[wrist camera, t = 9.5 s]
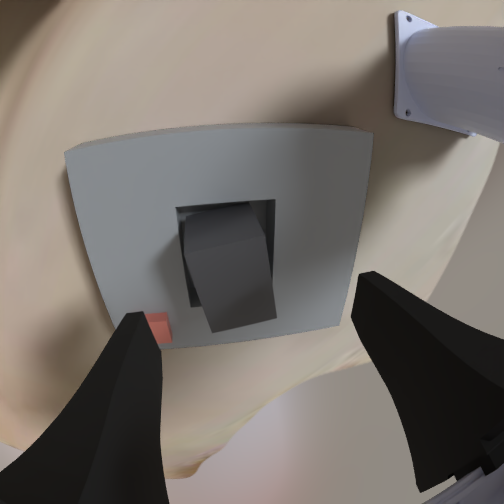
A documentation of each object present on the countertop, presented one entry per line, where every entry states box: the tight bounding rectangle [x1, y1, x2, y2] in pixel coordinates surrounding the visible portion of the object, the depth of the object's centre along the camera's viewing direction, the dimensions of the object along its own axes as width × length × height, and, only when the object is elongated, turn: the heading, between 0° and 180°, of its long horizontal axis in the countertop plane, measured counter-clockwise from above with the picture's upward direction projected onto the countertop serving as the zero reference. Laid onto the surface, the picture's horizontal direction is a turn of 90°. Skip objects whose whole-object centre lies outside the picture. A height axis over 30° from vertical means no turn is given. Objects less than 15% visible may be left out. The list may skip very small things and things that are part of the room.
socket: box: [64, 123, 374, 349], centre depth 17 cm, size 16×14×3 cm
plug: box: [184, 202, 277, 333], centre depth 15 cm, size 4×5×5 cm
